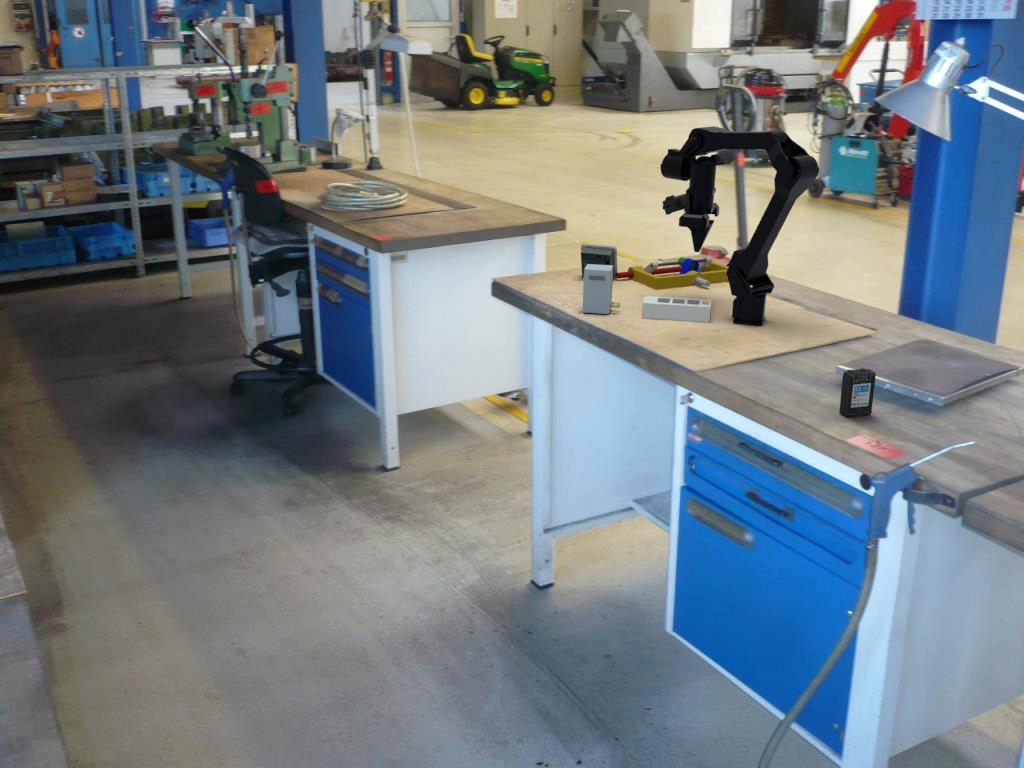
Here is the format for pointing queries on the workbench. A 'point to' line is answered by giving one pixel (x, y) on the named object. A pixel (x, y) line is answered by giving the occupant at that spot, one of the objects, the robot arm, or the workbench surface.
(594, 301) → the charger
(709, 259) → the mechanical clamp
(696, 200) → the robot arm
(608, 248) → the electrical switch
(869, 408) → the ink cartridge
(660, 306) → the power strip
